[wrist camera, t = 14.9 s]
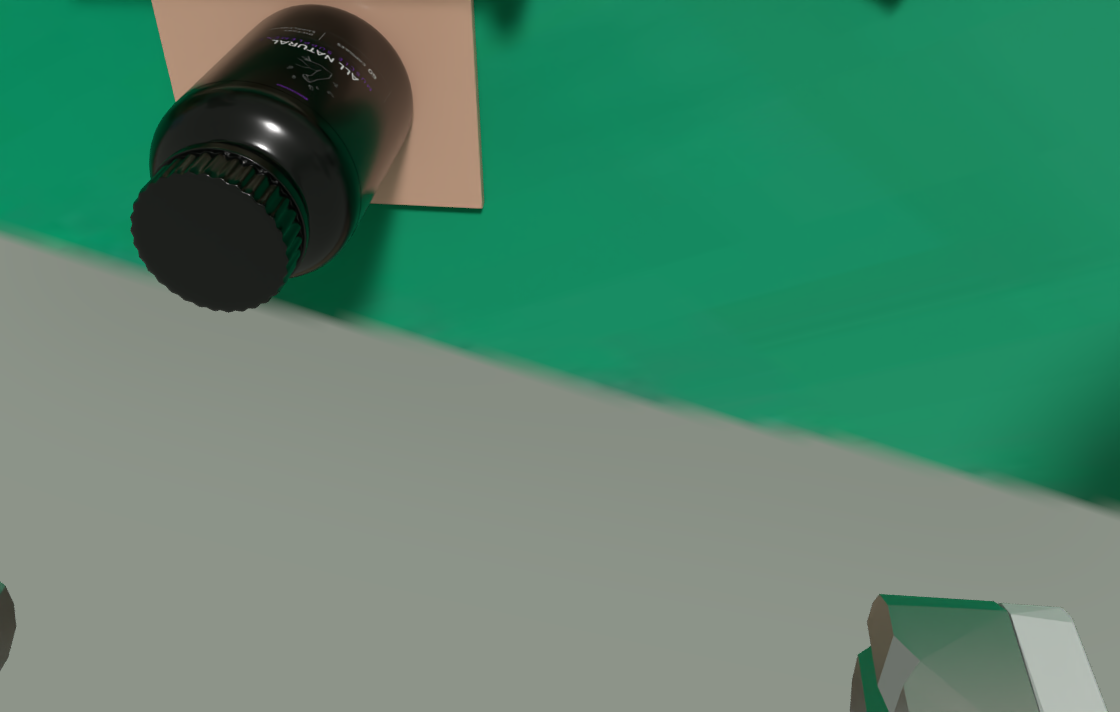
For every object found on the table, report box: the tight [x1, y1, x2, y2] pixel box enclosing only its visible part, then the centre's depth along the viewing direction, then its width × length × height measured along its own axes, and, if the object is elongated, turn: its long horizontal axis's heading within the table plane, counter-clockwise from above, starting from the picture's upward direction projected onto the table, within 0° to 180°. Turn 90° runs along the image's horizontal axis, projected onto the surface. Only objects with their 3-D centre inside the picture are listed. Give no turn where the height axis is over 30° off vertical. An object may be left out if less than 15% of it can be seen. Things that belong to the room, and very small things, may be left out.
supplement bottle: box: [130, 4, 413, 312], centre depth 35 cm, size 7×7×12 cm
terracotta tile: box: [151, 0, 484, 208], centre depth 40 cm, size 12×10×1 cm
